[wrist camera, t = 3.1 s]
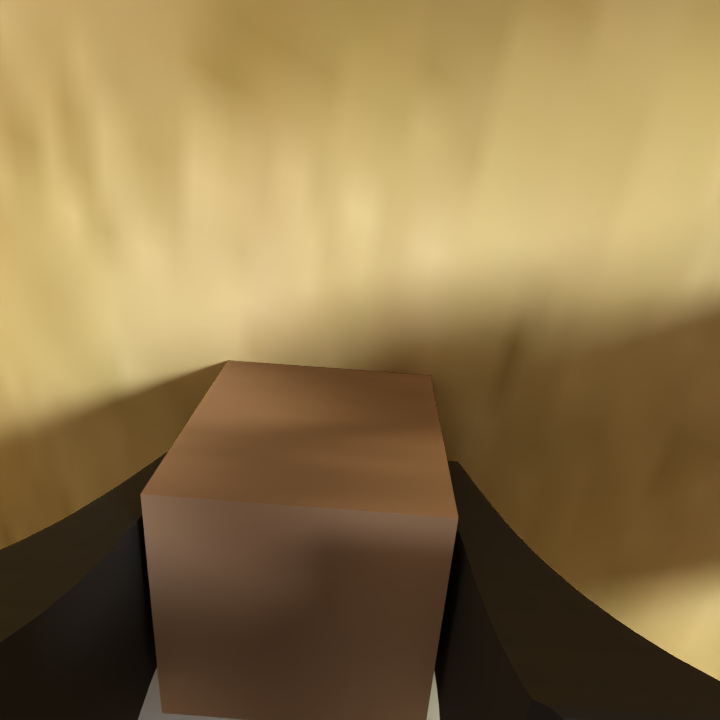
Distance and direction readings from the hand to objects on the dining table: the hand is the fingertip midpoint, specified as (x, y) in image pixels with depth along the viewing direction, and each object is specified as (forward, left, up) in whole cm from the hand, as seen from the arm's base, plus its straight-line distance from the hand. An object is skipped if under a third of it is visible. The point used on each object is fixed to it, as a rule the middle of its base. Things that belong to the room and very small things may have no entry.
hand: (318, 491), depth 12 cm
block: (0, 0, -2) cm, 2 cm away
